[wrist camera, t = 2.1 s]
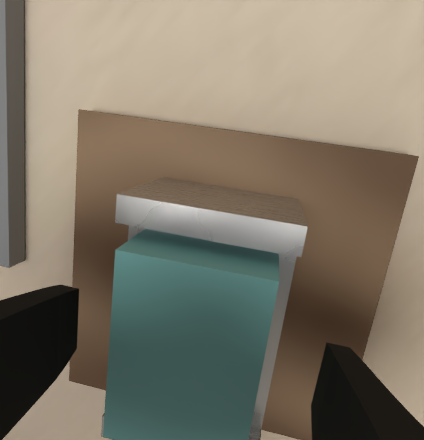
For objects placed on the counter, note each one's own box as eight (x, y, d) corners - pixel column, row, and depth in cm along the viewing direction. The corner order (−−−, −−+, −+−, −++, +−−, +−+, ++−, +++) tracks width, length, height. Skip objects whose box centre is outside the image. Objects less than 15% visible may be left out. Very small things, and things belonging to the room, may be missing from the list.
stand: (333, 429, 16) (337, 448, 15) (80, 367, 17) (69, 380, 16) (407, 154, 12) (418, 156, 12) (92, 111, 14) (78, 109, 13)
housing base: (260, 387, 15) (255, 478, 11) (145, 360, 15) (101, 436, 11) (298, 198, 13) (307, 226, 9) (163, 176, 13) (116, 194, 9)
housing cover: (247, 417, 11) (241, 474, 10) (130, 388, 12) (103, 436, 10) (279, 253, 10) (278, 281, 8) (144, 228, 11) (115, 249, 9)
